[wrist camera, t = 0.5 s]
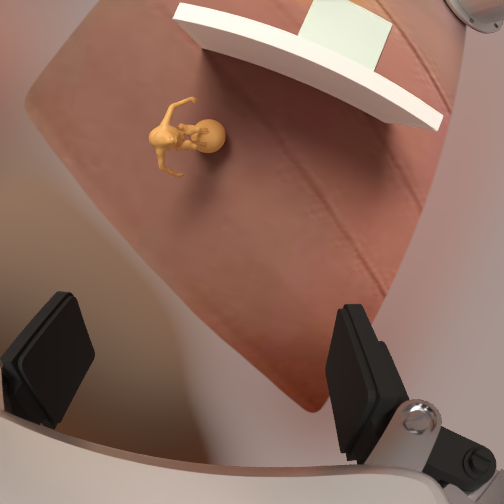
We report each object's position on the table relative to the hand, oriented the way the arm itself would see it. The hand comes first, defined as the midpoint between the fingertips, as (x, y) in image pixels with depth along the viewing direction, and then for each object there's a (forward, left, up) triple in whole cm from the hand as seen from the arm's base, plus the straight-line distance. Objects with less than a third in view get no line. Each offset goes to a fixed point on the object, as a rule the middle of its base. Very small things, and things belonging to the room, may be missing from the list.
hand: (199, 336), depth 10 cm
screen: (-9, -10, -30) cm, 33 cm away
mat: (-16, -15, -30) cm, 37 cm away
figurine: (+4, -6, -30) cm, 31 cm away
